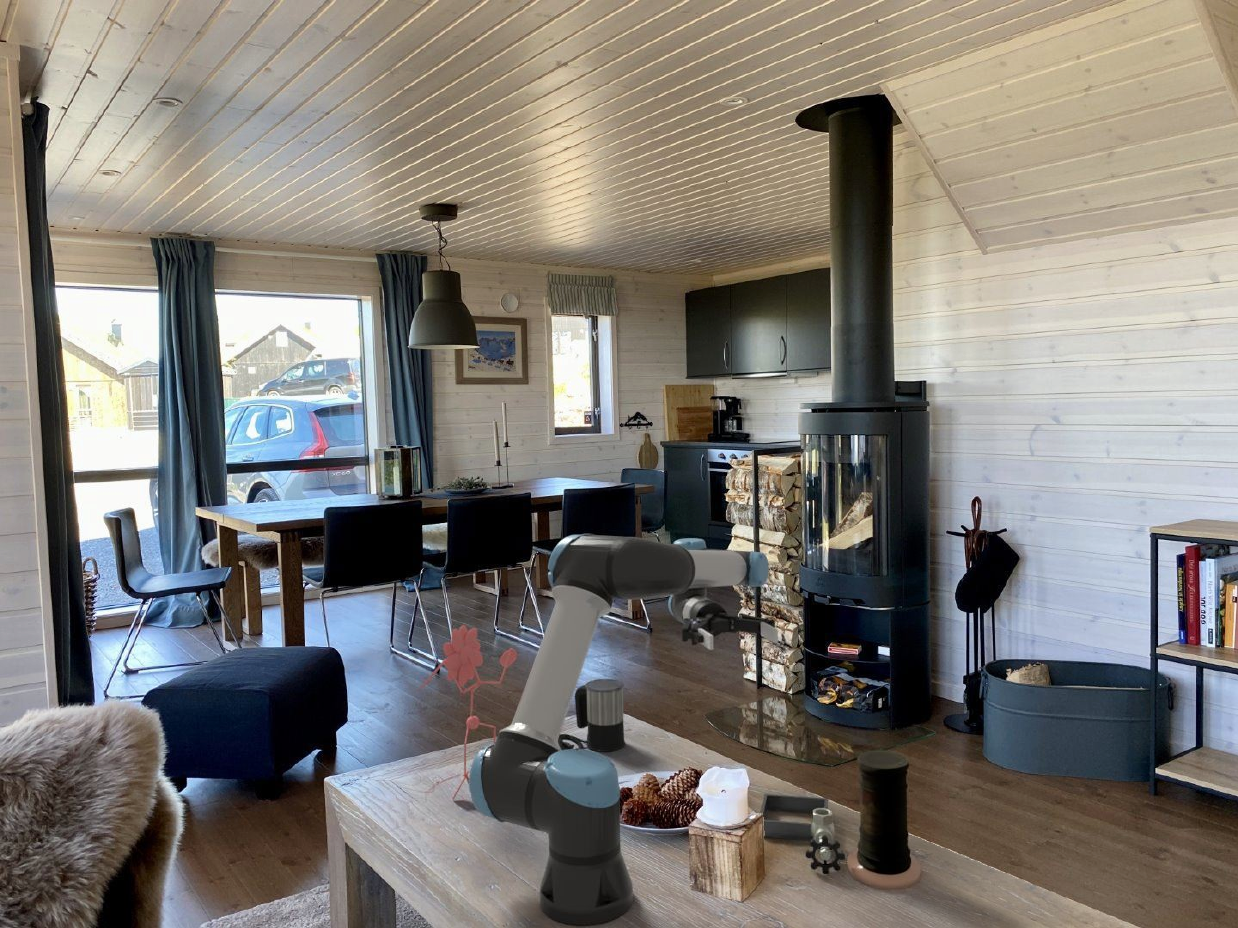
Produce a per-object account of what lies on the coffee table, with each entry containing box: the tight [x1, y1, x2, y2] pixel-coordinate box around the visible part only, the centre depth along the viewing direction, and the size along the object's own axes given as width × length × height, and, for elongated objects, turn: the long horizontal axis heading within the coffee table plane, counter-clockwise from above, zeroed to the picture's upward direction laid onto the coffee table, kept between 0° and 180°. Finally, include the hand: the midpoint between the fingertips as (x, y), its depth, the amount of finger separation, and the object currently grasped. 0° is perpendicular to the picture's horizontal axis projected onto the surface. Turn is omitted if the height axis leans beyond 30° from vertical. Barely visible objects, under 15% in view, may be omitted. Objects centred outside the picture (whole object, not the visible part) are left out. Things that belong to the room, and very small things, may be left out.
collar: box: [759, 793, 829, 842], centre depth 177 cm, size 12×12×3 cm
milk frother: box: [558, 678, 626, 752], centre depth 220 cm, size 14×16×15 cm
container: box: [856, 749, 911, 875], centre depth 158 cm, size 9×9×18 cm
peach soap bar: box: [846, 848, 922, 890], centre depth 159 cm, size 12×12×2 cm
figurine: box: [419, 624, 518, 802], centre depth 199 cm, size 15×26×35 cm, turn 148°
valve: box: [805, 808, 846, 875], centre depth 164 cm, size 7×7×12 cm
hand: (744, 639), depth 183 cm, fingers open, 13 cm apart
